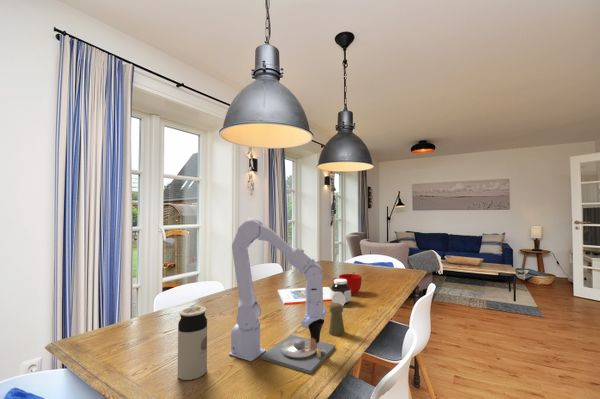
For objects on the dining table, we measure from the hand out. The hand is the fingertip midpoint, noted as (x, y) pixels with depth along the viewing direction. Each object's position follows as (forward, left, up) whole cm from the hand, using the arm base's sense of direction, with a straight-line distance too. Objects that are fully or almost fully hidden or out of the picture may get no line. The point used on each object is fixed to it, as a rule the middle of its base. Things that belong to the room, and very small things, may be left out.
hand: (315, 342), depth 92 cm
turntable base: (-5, -2, -4) cm, 6 cm away
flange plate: (-3, -2, -3) cm, 5 cm away
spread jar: (-12, +53, -4) cm, 54 cm away
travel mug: (-26, -27, -4) cm, 38 cm away
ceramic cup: (-16, +73, -4) cm, 75 cm away
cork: (0, +19, -4) cm, 19 cm away
